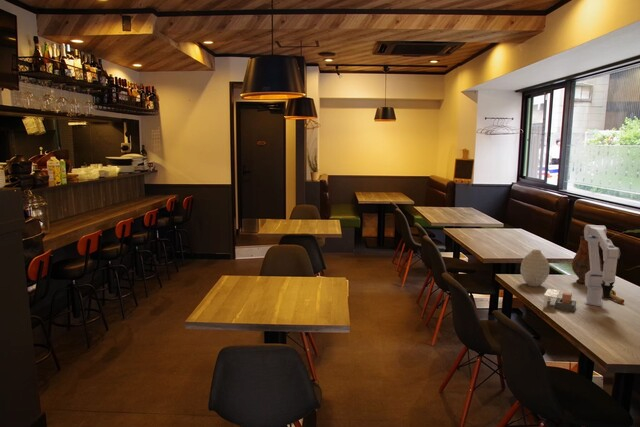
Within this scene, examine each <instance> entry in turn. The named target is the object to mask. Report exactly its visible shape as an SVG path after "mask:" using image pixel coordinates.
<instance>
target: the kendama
mask: <svg viewBox="0 0 640 427" xmlns="http://www.w3.org/2000/svg"><path fill="white" fill-rule="evenodd" d="M602 298H604V296H603V292H602ZM609 298H610V299H613V301H616V302H617V303H618V304H620V305H624V303H625V299H623V298H621V297H619V296H618V295H617V292H616V291H615V290H614V289H612V290H611V292H610V295H609Z"/></svg>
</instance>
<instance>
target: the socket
mask: <svg viewBox="0 0 640 427" xmlns="http://www.w3.org/2000/svg"><path fill="white" fill-rule="evenodd" d="M576 307H577V300H574V299H573V300H572V299H571V304H568V303H562V297H557V298H556V300H555V302H554V309H557V310H562V311H566V312H570V313H571V312H573V313H574V312H575V310H576V309H577V308H576Z"/></svg>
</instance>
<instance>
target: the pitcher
mask: <svg viewBox="0 0 640 427" xmlns="http://www.w3.org/2000/svg"><path fill="white" fill-rule="evenodd" d="M579 238H580V242H579V248H578V249H577V251H576V253H575V255H574V257H573V259H572V263H571V266H572V267H571V268H572V270H573V272H574V275H575V276H576V277H577V278H578V279H576V280H575V282H576V283H577V284H579V285H583V286H586V285H585V274H586V273H587V272H589V271H590V260H589V248H588V241H586V240H585V237H584V235H581V236H579ZM598 249H599V251H600V249H601V246H600V242H598ZM599 260H600V270H601V271H602V270H603V264H602V263H603V262H602V259H601V255H600V254H599Z"/></svg>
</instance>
